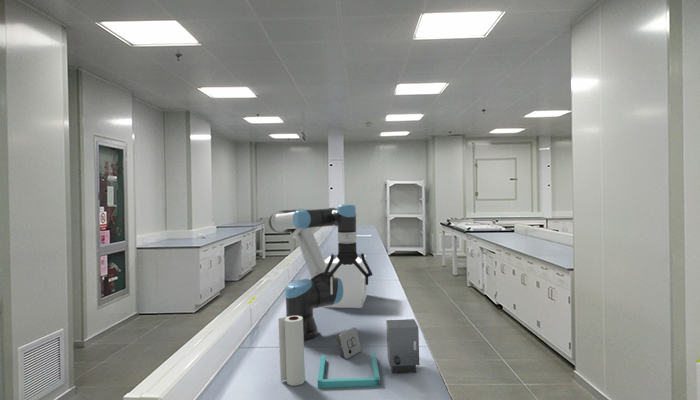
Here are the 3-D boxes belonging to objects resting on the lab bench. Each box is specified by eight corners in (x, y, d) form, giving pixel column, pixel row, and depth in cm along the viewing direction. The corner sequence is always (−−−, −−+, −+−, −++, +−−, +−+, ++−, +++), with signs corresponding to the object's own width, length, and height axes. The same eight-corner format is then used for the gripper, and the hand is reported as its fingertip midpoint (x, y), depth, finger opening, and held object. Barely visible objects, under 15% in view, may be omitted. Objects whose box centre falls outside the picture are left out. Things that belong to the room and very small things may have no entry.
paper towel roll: (308, 381, 129) (306, 317, 128) (294, 388, 124) (292, 322, 124) (294, 374, 134) (292, 313, 133) (280, 381, 129) (278, 317, 128)
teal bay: (317, 388, 124) (317, 381, 124) (321, 360, 144) (321, 355, 144) (380, 385, 124) (380, 379, 124) (375, 358, 144) (375, 353, 144)
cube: (361, 308, 207) (360, 263, 206) (322, 308, 210) (321, 263, 210) (367, 295, 232) (365, 255, 231) (332, 295, 235) (330, 255, 234)
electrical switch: (346, 360, 144) (344, 334, 144) (336, 358, 147) (333, 333, 147) (361, 351, 151) (359, 327, 151) (351, 349, 154) (349, 326, 155)
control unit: (390, 376, 130) (389, 329, 129) (387, 363, 140) (386, 319, 139) (420, 375, 130) (419, 328, 129) (415, 362, 140) (414, 318, 139)
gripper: (316, 244, 155) (317, 296, 156) (378, 242, 156) (379, 294, 157) (317, 241, 163) (318, 291, 164) (376, 240, 164) (377, 289, 165)
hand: (348, 293), depth 160 cm, fingers open, 13 cm apart
